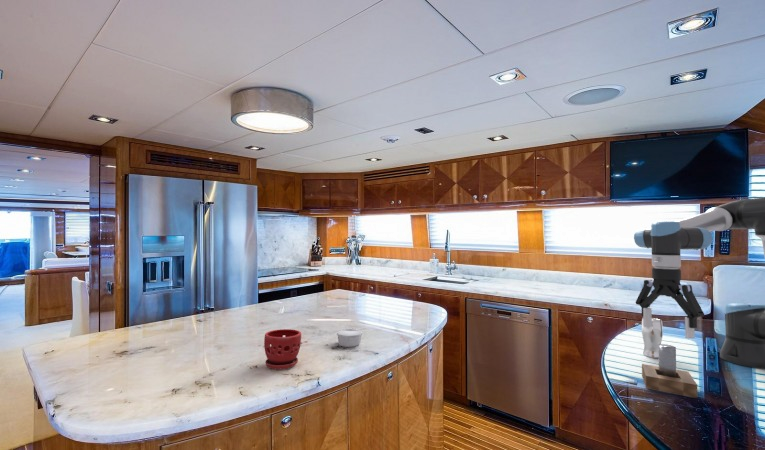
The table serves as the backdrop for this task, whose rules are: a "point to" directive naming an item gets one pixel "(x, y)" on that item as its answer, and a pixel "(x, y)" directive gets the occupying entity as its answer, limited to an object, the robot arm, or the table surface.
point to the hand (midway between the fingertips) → (667, 332)
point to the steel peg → (667, 360)
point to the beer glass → (652, 338)
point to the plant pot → (282, 348)
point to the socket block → (669, 381)
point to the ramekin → (349, 337)
